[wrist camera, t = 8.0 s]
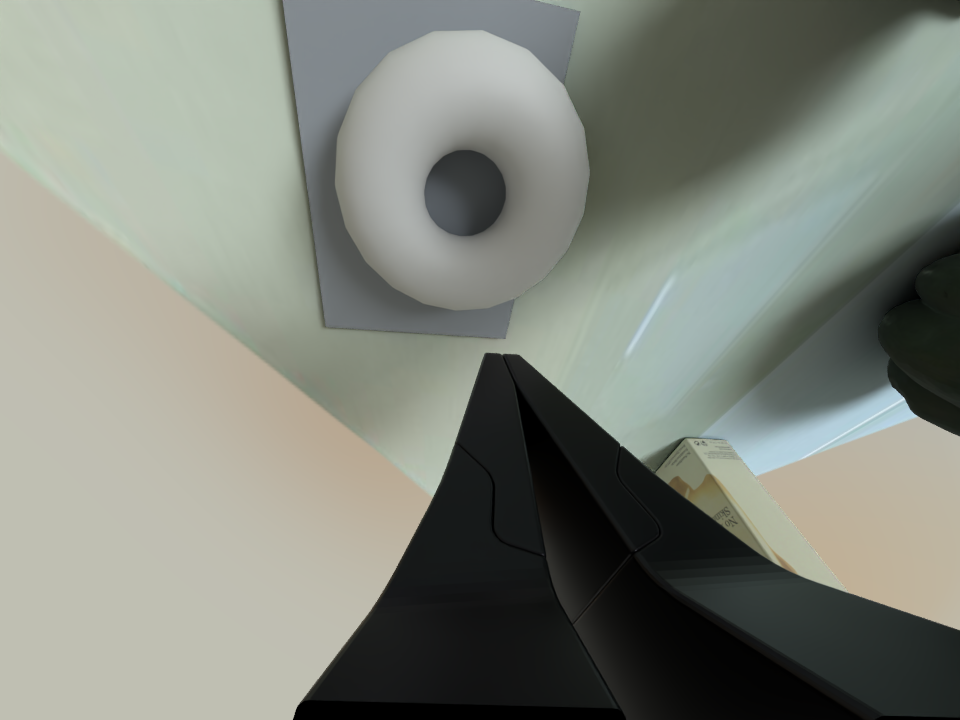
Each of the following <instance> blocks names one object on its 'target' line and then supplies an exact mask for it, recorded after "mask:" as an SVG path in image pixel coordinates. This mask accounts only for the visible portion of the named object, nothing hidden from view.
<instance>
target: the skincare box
mask: <svg viewBox="0 0 960 720" xmlns="http://www.w3.org/2000/svg"><path fill="white" fill-rule="evenodd" d="M655 474H656V475H657V476H658V477H660V478H661V479H662V480H663V481H665V482H666V483H667V484H668V485H670V486H671V487H672V488H674V489H675V490H676V491H677V492H679V493H680V494H681V495H682V496H684V497H685V498H686V499H688V500H689V501H690V502H692V503H693V504H694V505H696V506H697V507H698V508H699V509H701V510H702V511H703V512H705V513H706V514H707V515H709V516H710V517H711V518H713V519H714V520H715V521H717V522H718V523H719V524H721V525H722V526H723V527H724V528H726V529H727V530H728V531H730V532H731V533H732V534H734V535H735V536H736V537H738V538H739V539H740V540H742V541H743V542H744V543H746V544H747V545H748V546H749V547H751V548H752V549H754V550H755V551H756V552H758V553H759V554H761V555H762V556H764V557H765V558H767V559H769V560H770V561H772V562H773V563H775V564H777V565H779V566H781V567H783V568H785V569H786V570H788V571H790V572H793V573H795V574H797V575H800V576H802V577H804V578H807V579H809V580H812V581H815V582H818V583H821V584H824V585H827V586H830V587H833V588H836V589H839V590H842V591H845V592H847V593H848V591H847V590H846V589H845V587H844V586H843V585H842V584H841V582H840V581H839V580H838V579H837V577H836V576H835V575H834V574H833V573H832V571H831V570H830V569H829V568H828V566H827V565H826V564H825V563H824V561H823V560H822V559H821V558H820V556H819V555H818V554H817V553H816V551H815V550H814V549H813V548H812V546H811V545H810V544H809V543H808V541H807V540H806V539H805V538H804V536H803V535H802V534H801V533H800V531H799V530H798V529H797V528H796V527H795V525H794V524H793V523H792V521H791V520H790V519H789V518H788V517H787V515H786V514H785V513H784V512H783V510H782V509H781V508H780V507H779V505H778V504H777V503H776V502H775V500H774V499H773V498H772V496H771V495H770V494H769V493H768V492H767V490H766V489H765V488H764V487H763V485H762V484H761V483H760V482H759V481H758V479H757V478H756V477H755V475H754V474H753V473H752V472H751V470H750V469H749V468H748V467H747V465H746V464H745V463H744V462H743V460H742V459H741V458H740V457H739V455H738V454H737V453H736V452H735V450H734V449H733V448H732V447H731V445H730V444H729V443H728V442H727V441H726V440H714V439H695V438H686V439H684V440H683V441H682V442H681V444H680V445H679V446H678V447H677V448H676V449H675V451H674V452H673V453H672V454H671V455H670V456H669V457H668V459H667V460H666V461H665V462H664V463H663V464H662V466H661V467H660V468H659V469H658V470H657V472H656V473H655Z"/></svg>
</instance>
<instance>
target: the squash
mask: <svg viewBox="0 0 960 720" xmlns="http://www.w3.org/2000/svg"><path fill="white" fill-rule="evenodd" d="M915 286H916V291H917V293H918V295H919V296H920V297H921V299H918V300H912V301H909V302H906V303H903V304H901V305H899V306H896V307H895V308H893V309H892V310H890V311H889V312H888V313H887V314H886V315H885V317H884V319H883V320H882V322H881V323H880V325H879V328H878V337H879V341H880V343H881V345H882V347H883V348H884V350H885V351H886V352H887V354H888V355H889V356H890V360H889V363H888V367H887V371H888V378H889V380H890V383H891V385H892V387H893V388H895V389H896V390H897V391H898V392H899V393H900V394H901V395H902V396H903V397H904V398H905V400H906V402H907V404H908V406H909V408H910V410H911V411H912V412H913V413H914V414H916V415H917V416H919V417H920V418H922V419H924V420H926V421H928V422H930V423H932V424H935V425H936V426H938V427H940V428H942V429H944V430H946V431H949V432H951V433H953V434H955V435H958V436H960V253H958V254H955V255H951V256H947V257H944V258H942V259H939V260H936V261H935V262H933V263H932V264H930V265H928V266H926V267H924V268H923V269H922V270H921V271H920V273H919V274H918V275H917V277H916V280H915Z"/></svg>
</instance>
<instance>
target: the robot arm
mask: <svg viewBox="0 0 960 720" xmlns="http://www.w3.org/2000/svg"><path fill="white" fill-rule="evenodd" d="M958 1H960V0H958ZM293 720H960V630H957V629H954V628H951V627H948V626H945V625H942V624H940V623H936V622H933V621H931V620H928V619H925V618H922V617H919V616H916V615H913V614H910V613H907V612H904V611H901V610H898V609H895V608H892V607H889V606H886V605H883V604H880V603H877V602H874V601H871V600H868V599H865V598H862V597H859V596H856V595H853V594H850V593H847V592H845V591H842V590H839V589H836V588H833V587H830V586H827V585H824V584H821V583H818V582H815V581H812V580H809V579H807V578H804V577H802V576H800V575H797V574H795V573H793V572H790V571H788V570H786V569H785V568H783V567H781V566H779V565H777V564H775V563H773V562H772V561H770V560H769V559H767V558H765V557H764V556H762V555H761V554H759V553H758V552H756V551H755V550H754V549H752V548H751V547H749V546H748V545H747V544H746V543H744V542H743V541H742V540H740V539H739V538H738V537H736V536H735V535H734V534H732V533H731V532H730V531H728V530H727V529H726V528H724V527H723V526H722V525H721V524H719V523H718V522H717V521H715V520H714V519H713V518H711V517H710V516H709V515H707V514H706V513H705V512H703V511H702V510H701V509H699V508H698V507H697V506H696V505H694V504H693V503H692V502H690V501H689V500H688V499H686V498H685V497H684V496H682V495H681V494H680V493H679V492H677V491H676V490H675V489H674V488H672V487H671V486H670V485H668V484H667V483H666V482H665V481H663V480H662V479H661V478H660V477H658V476H657V475H656V474H655V473H654V472H652V471H651V470H650V469H649V468H648V467H647V466H645V465H644V464H643V463H642V462H641V461H639V460H638V459H637V458H636V457H635V456H634V455H633V454H631V453H630V452H629V451H628V450H627V449H626V448H625V447H623V446H621V447H620V443H619V442H618V441H616V440H615V439H614V438H613V437H612V436H611V435H610V434H608V433H607V432H606V431H605V430H604V429H603V428H602V427H601V426H599V425H598V424H597V423H596V422H595V421H594V420H593V419H591V418H590V417H589V416H588V415H587V414H586V413H585V412H583V411H582V410H581V409H580V408H579V407H578V406H577V405H576V404H574V403H573V402H572V401H571V400H570V399H569V398H568V397H566V396H565V395H564V394H563V393H562V392H561V391H560V390H558V389H557V388H556V387H555V386H554V385H553V384H552V383H551V382H549V381H548V380H547V379H546V378H545V377H544V376H543V375H541V374H540V373H539V372H538V371H537V370H536V369H535V368H534V367H532V366H531V365H530V364H529V363H528V362H527V361H526V360H524V359H523V358H522V357H521V356H520V355H517V354H503V355H501V354H498V353H485V354H484V357H483V360H482V363H481V366H480V369H479V372H478V375H477V378H476V381H475V384H474V387H473V390H472V393H471V396H470V399H469V402H468V405H467V408H466V411H465V414H464V417H463V420H462V423H461V426H460V429H459V432H458V435H457V438H456V441H455V445H454V447H453V450H452V453H451V456H450V459H449V462H448V464H447V467H446V469H445V472H444V475H443V477H442V480H441V482H440V484H439V486H438V488H437V490H436V493H435V495H434V497H433V499H432V501H431V503H430V505H429V507H428V509H427V511H426V513H425V515H424V517H423V518H422V520H421V522H420V524H419V526H418V528H417V530H416V532H415V534H414V536H413V537H412V539H411V541H410V543H409V545H408V547H407V549H406V551H405V553H404V555H403V556H402V559H401V560H400V562H399V564H398V566H397V568H396V570H395V572H394V573H393V575H392V577H391V579H390V580H389V582H388V584H387V586H386V587H385V589H384V591H383V593H382V594H381V595H380V597H379V599H378V600H377V602H376V603H375V605H374V606H373V608H372V610H371V611H370V612H369V614H368V615H367V616H366V618H365V619H364V620H363V621H362V623H361V624H360V625H359V627H358V628H357V629H356V631H355V632H354V633H353V635H352V636H351V637H350V639H349V640H348V641H347V642H346V644H345V645H344V646H343V648H342V649H341V650H340V652H339V653H338V654H337V656H336V657H335V658H334V660H333V661H332V662H331V663H330V665H329V666H328V667H327V668H326V670H325V671H324V672H323V674H322V675H321V676H320V678H319V679H318V680H317V681H316V683H315V684H314V685H313V687H312V688H311V689H310V691H309V692H308V693H307V695H306V696H305V697H304V699H303V700H302V701H301V702H300V704H299V705H298V707H297V709H296V712H295V715H294V718H293Z"/></svg>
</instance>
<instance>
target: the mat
mask: <svg viewBox="0 0 960 720" xmlns="http://www.w3.org/2000/svg"><path fill="white" fill-rule="evenodd" d="M283 7H284V15H285V22H286V30H287V38H288V45H289V53H290V60H291V68H292V76H293V83H294V91H295V98H296V106H297V114H298V121H299V129H300V136H301V144H302V151H303V159H304V167H305V174H306V182H307V189H308V197H309V205H310V212H311V220H312V227H313V235H314V243H315V250H316V258H317V265H318V273H319V280H320V288H321V296H322V303H323V311H324V318H325V326H326V327H334V328H349V329H364V330H380V331H395V332H410V333H426V334H441V335H456V336H472V337H487V338H502V339H505V338H506V334H507V329H508V325H509V321H510V316H511V312H512V307H513V303H514V299H512V300H509V301H506V302H504V303H501V304H498V305H495V306H493V307H490V308H485V309H472V310H458V311H456V310H451V309H446V308H441V307H436V306H431V305H427V304H423V303H421V302H419V301H417V300H416V299H414V298H412V297H410V296H408V295H406V294H404V293H402V292H400V291H398V290H396V289H395V288H393V287H392V286H391V285H389V284H388V283H387V282H386V281H385V280H384V279H383V278H382V277H381V276H380V275H379V274H378V273H377V272H376V271H375V270H374V269H373V268H372V267H371V266H370V265H368V264H367V263H366V261H365V260H364V258H363V256H362V255H361V253H360V251H359V250H358V248H357V246H356V244H355V243H354V241H353V239H352V238H351V236H350V234H349V232H348V231H347V229H346V227H345V223H344V219H343V215H342V212H341V208H340V204H339V200H338V196H337V192H336V188H335V171H336V151H337V137H338V133H339V131H340V128H341V126H342V123H343V121H344V118H345V116H346V113H347V110H348V108H349V105H350V103H351V100H352V98H353V95H354V93H355V90H356V89H357V87H358V86H359V85H360V84H361V83H362V82H363V81H364V80H365V78H366V77H367V76H368V75H369V74H370V73H371V72H372V71H373V70H374V68H375V67H376V66H377V65H378V64H379V63H380V62H381V61H382V59H383V58H384V57H385V56H386V55H387V54H388V53H389V52H391V51H393V50H395V49H397V48H399V47H401V46H403V45H405V44H407V43H410V42H412V41H414V40H416V39H418V38H420V37H422V36H424V35H426V34H428V33H431V32H433V31H465V30H483V31H486V32H488V33H491V34H493V35H495V36H498V37H500V38H502V39H505V40H507V41H509V42H512V43H514V44H516V45H519V46H521V47H523V48H526V49H528V50H529V51H530V52H531V53H532V54H533V55H534V56H535V57H536V58H537V59H538V60H539V61H540V62H541V63H542V64H543V65H544V66H545V67H546V68H547V69H548V70H549V71H550V72H551V73H552V74H553V75H554V76H555V77H556V78H557V79H558V80H559V81H560V82H561V83H562V84H563V85H564V81H565V76H566V72H567V68H568V63H569V59H570V55H571V50H572V46H573V42H574V37H575V33H576V29H577V24H578V20H579V15H580V11H576V10H572V9H568V8H564V7H560V6H556V5H551V4H547V3H543V2H539V1H535V0H283ZM424 196H425V205H426V208H427V211H428V213H429V215H430V217H431V219H432V220H433V221H434V222H435V223H436V225H437V226H438V227H440V228H441V229H443V230H445V231H446V232H448V233H450V234H454V235H458V236H473V235H475V234H478V233H480V232H483V231H485V230H486V229H487V228H489V227H490V226H491V225H492V224H494V223H495V221H496V220H497V218H498V217H499V215H500V214H501V212H502V209H503V206H504V203H505V200H506V186H505V182H504V179H503V175H502V173H501V172H500V170H499V169H498V167H497V166H496V164H495V163H494V162H493V161H492V160H491V159H489V158H488V157H487V156H485V155H484V154H482V153H479V152H476V151H473V150H456V151H454V152H452V153H449V154H447V155H445V156H443V157H442V158H441V159H440V160H439V161H438V162H437V163H436V164H435V165H433V167H432V169H431V171H430V173H429V175H428V177H427V179H426V184H425V190H424Z"/></svg>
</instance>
